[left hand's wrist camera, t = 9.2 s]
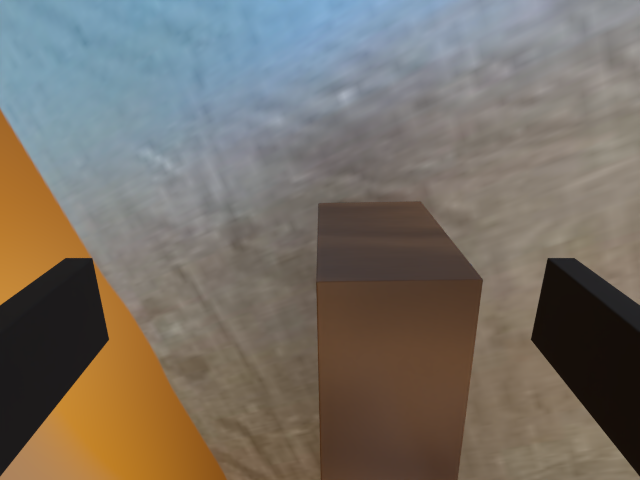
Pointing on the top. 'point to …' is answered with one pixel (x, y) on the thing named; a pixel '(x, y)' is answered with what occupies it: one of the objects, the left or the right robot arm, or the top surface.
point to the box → (392, 342)
